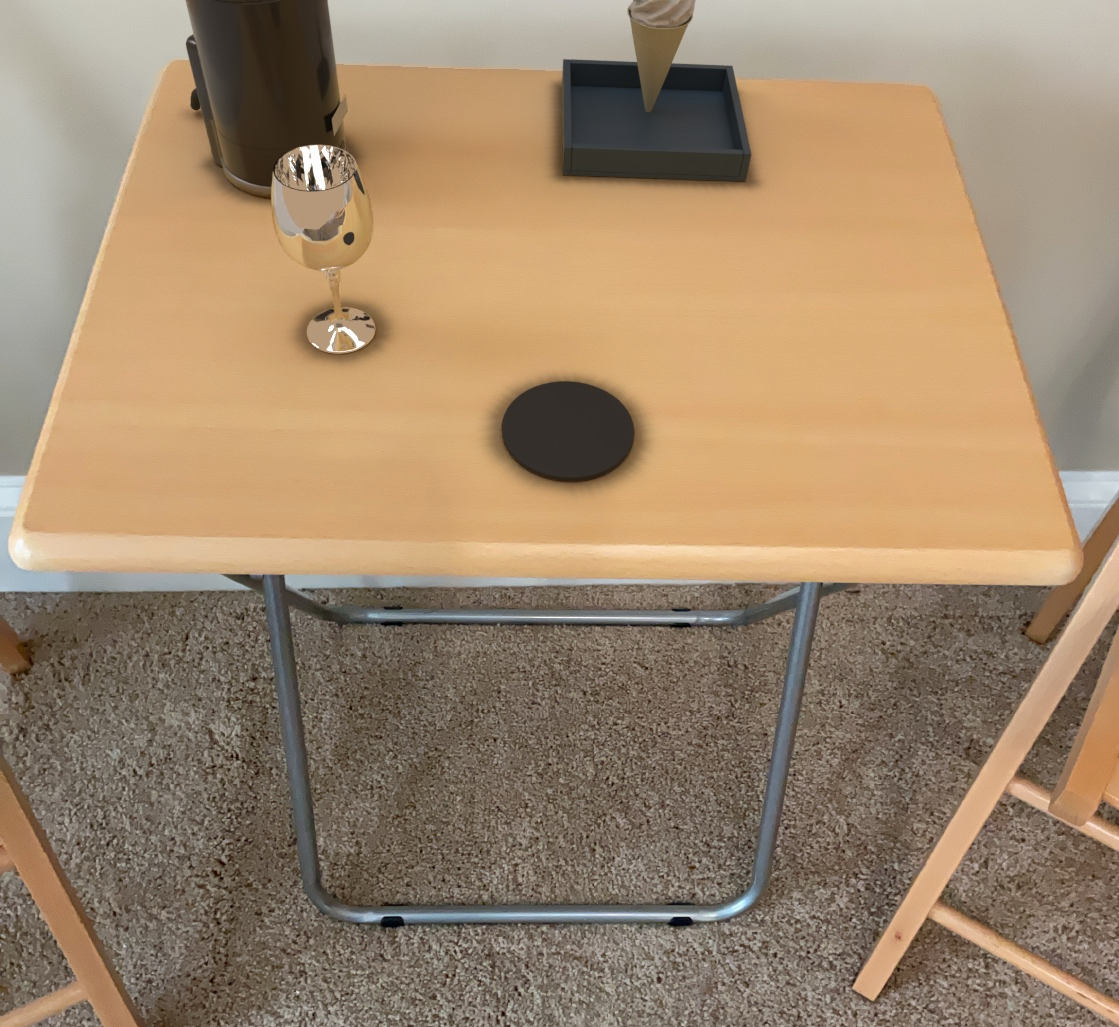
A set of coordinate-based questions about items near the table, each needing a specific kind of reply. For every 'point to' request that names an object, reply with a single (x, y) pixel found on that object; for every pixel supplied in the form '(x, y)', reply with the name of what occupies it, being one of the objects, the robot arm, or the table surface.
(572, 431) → the coaster
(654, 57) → the ice cream cone
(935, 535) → the table surface
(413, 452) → the table surface
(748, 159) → the tray
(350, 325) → the wineglass
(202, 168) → the table surface
